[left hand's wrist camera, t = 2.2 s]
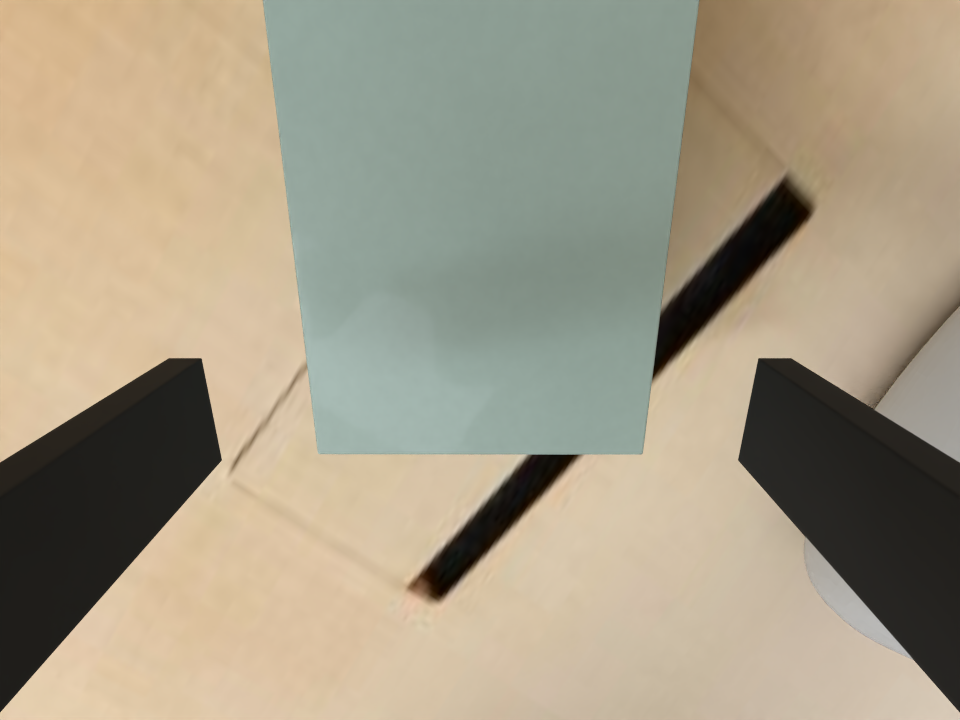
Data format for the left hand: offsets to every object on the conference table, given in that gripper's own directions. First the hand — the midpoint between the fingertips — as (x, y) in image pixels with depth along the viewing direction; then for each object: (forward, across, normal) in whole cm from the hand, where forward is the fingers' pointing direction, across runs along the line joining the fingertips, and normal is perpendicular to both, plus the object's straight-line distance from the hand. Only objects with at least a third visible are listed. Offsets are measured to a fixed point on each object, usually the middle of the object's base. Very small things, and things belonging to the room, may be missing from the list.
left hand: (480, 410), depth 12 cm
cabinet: (+15, 0, -6) cm, 16 cm away
